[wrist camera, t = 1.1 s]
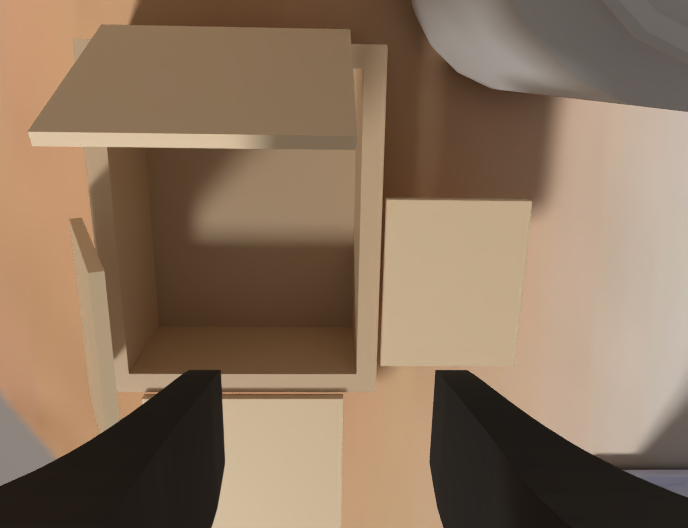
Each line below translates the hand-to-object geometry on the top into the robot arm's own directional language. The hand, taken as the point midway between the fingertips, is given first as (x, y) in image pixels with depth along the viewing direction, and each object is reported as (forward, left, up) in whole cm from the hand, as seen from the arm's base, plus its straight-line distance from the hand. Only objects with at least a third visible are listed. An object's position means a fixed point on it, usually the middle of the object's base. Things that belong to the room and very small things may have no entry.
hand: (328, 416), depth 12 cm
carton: (-1, 0, -10) cm, 10 cm away
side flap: (0, +5, -4) cm, 7 cm away
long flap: (+6, +3, -4) cm, 7 cm away
